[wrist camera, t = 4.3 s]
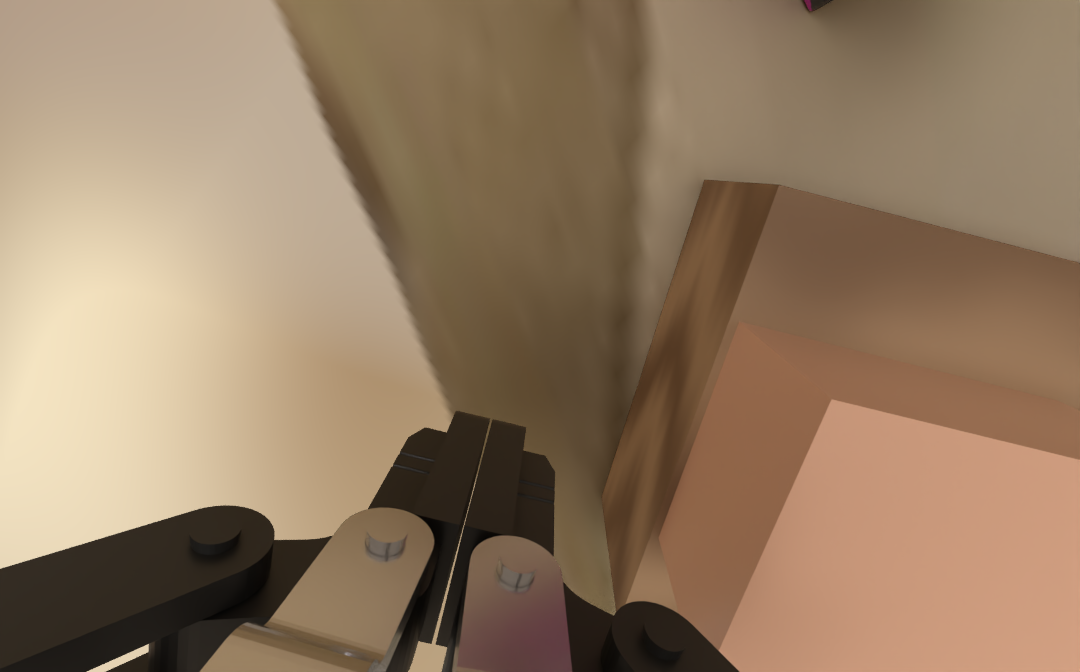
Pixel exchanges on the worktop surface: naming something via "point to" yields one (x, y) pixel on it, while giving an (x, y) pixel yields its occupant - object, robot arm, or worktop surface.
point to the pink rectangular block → (876, 517)
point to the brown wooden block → (824, 329)
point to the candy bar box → (815, 4)
